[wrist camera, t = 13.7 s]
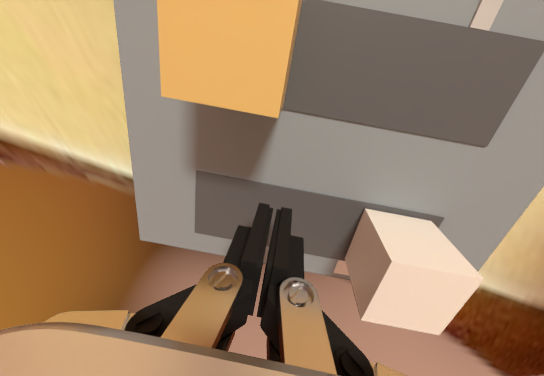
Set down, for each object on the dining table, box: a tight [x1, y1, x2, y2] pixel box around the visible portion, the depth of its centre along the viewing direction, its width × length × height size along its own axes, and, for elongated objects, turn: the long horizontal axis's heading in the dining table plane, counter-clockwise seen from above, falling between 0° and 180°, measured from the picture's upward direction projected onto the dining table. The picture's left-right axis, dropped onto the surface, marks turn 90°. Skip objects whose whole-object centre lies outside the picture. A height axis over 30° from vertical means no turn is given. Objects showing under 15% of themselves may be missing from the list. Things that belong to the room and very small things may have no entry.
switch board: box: [114, 0, 544, 280], centre depth 14 cm, size 23×17×1 cm
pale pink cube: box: [345, 208, 484, 335], centre depth 13 cm, size 4×4×4 cm
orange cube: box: [157, 0, 302, 118], centre depth 9 cm, size 4×4×4 cm
